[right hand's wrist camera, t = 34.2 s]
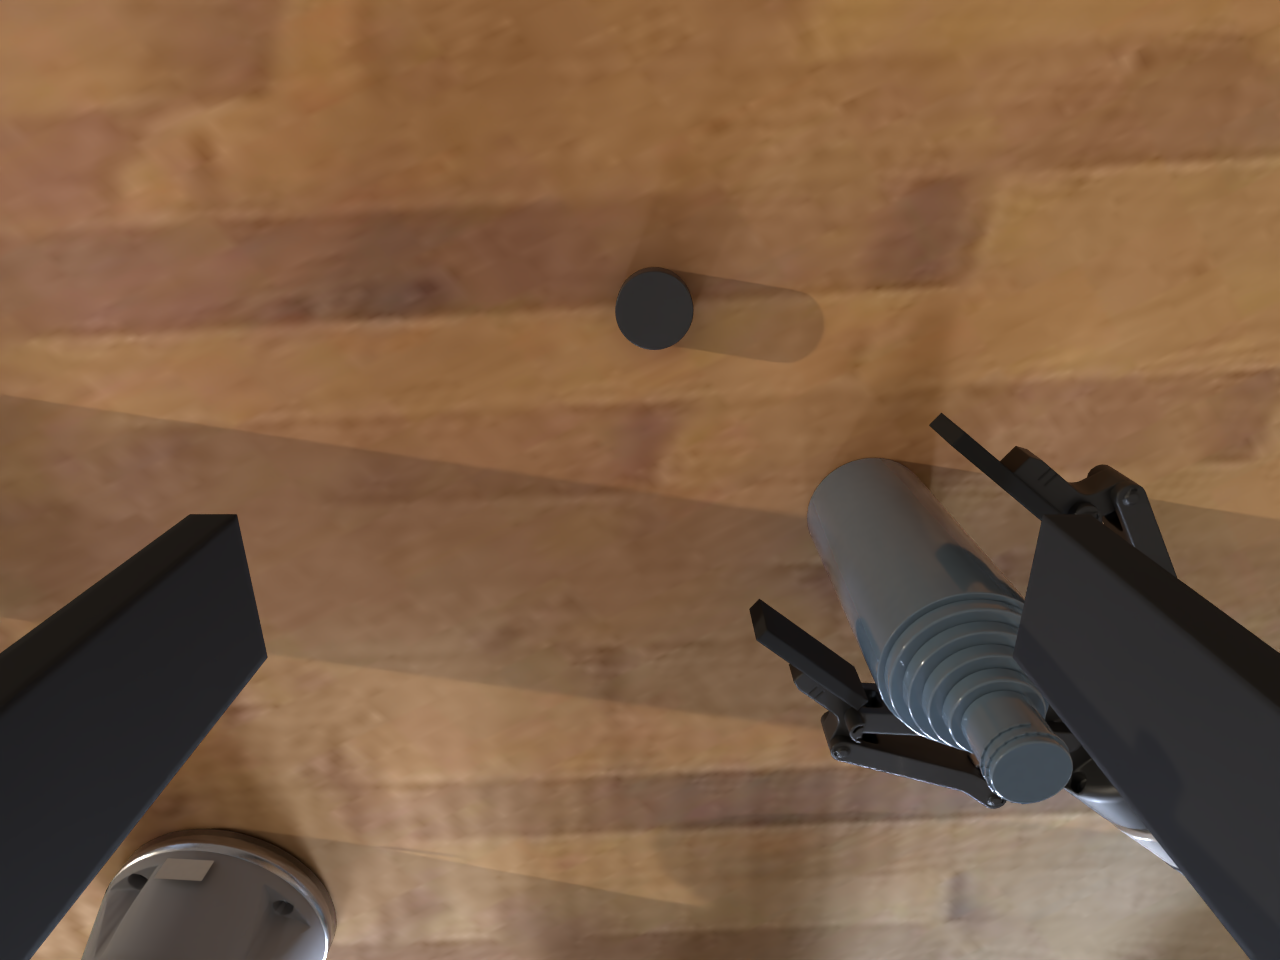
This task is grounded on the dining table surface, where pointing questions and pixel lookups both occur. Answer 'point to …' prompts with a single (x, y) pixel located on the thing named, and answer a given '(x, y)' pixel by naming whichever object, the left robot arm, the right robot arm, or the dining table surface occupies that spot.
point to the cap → (654, 308)
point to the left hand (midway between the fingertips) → (846, 528)
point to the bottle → (935, 625)
